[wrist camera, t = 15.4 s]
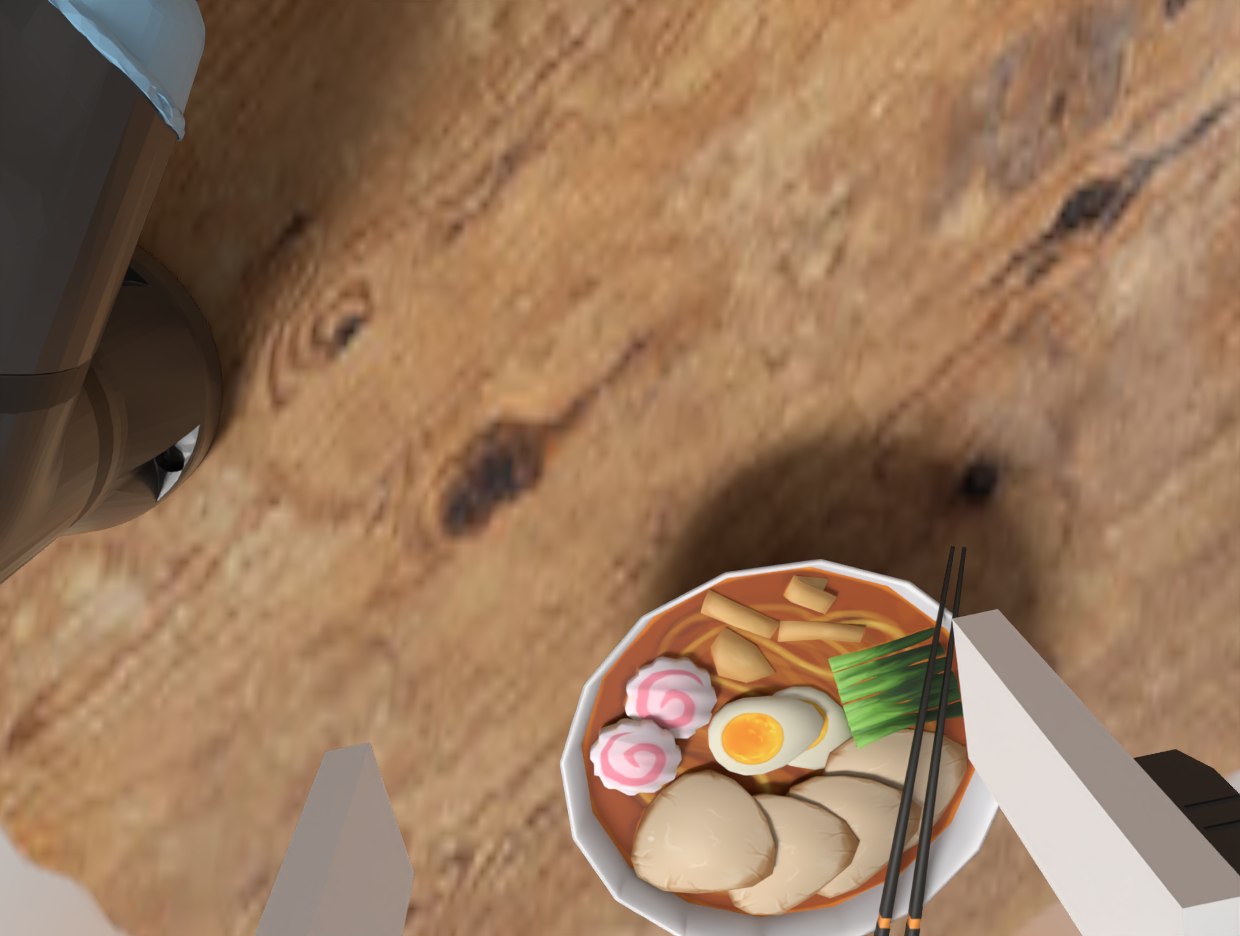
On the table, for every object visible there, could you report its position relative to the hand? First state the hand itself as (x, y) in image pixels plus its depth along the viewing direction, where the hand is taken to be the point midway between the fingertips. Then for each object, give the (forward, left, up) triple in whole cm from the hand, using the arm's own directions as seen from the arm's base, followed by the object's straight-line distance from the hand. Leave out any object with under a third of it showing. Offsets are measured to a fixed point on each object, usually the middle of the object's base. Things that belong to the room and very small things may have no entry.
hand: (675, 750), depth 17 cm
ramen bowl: (+5, -22, -36) cm, 42 cm away
